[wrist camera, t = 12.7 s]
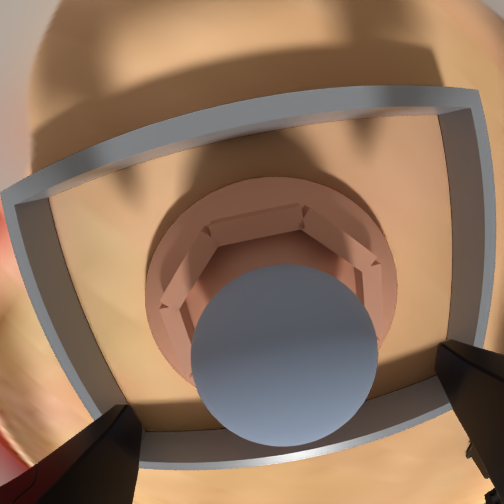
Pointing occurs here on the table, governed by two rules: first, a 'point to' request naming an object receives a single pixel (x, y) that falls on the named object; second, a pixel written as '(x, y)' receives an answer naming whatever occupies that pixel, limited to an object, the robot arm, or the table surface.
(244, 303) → the ball
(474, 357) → the robot arm
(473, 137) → the grey rectangular frame
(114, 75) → the table surface
